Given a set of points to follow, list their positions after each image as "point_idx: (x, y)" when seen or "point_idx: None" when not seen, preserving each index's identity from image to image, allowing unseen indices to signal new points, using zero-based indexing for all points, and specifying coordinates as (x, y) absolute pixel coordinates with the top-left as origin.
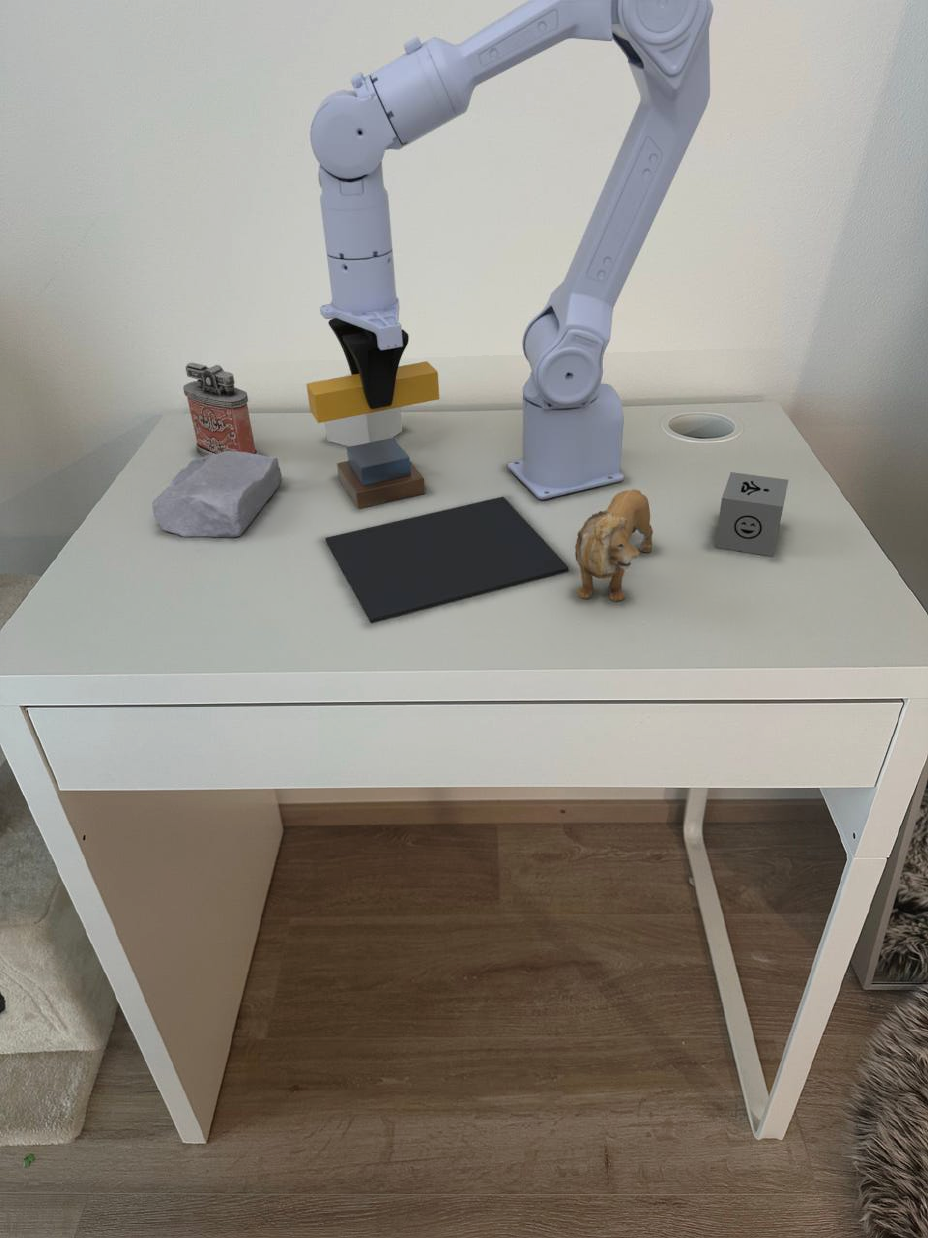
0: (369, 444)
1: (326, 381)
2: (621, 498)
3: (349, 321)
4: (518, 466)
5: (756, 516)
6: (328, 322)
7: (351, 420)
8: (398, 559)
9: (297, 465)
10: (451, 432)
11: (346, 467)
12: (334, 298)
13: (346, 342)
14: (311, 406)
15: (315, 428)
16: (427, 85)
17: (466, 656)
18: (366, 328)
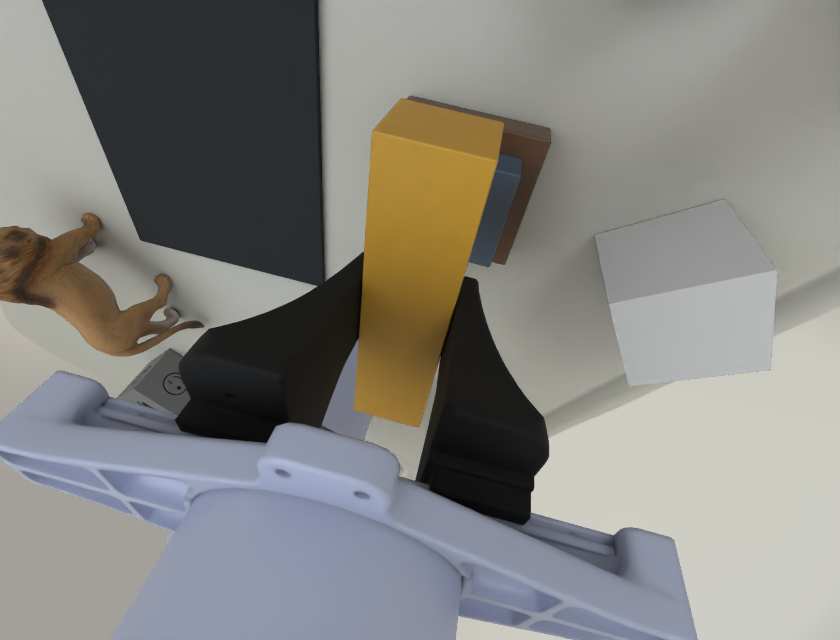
0: (495, 219)
1: (460, 225)
2: (87, 335)
3: (192, 443)
4: None
5: (131, 385)
6: (521, 429)
7: (649, 256)
8: (192, 57)
9: (694, 76)
10: (543, 350)
11: (515, 147)
12: (269, 554)
13: (232, 354)
14: (468, 124)
15: (809, 210)
16: None
17: None
18: (99, 431)
